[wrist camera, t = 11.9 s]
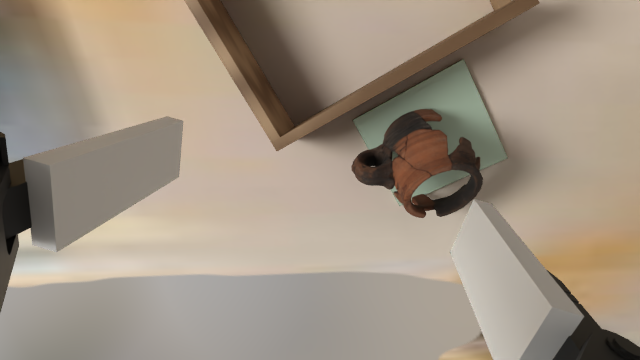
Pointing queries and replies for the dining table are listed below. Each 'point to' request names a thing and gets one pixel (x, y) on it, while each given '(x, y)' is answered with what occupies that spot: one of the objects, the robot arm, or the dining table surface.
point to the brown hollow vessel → (419, 163)
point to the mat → (457, 121)
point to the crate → (281, 128)
